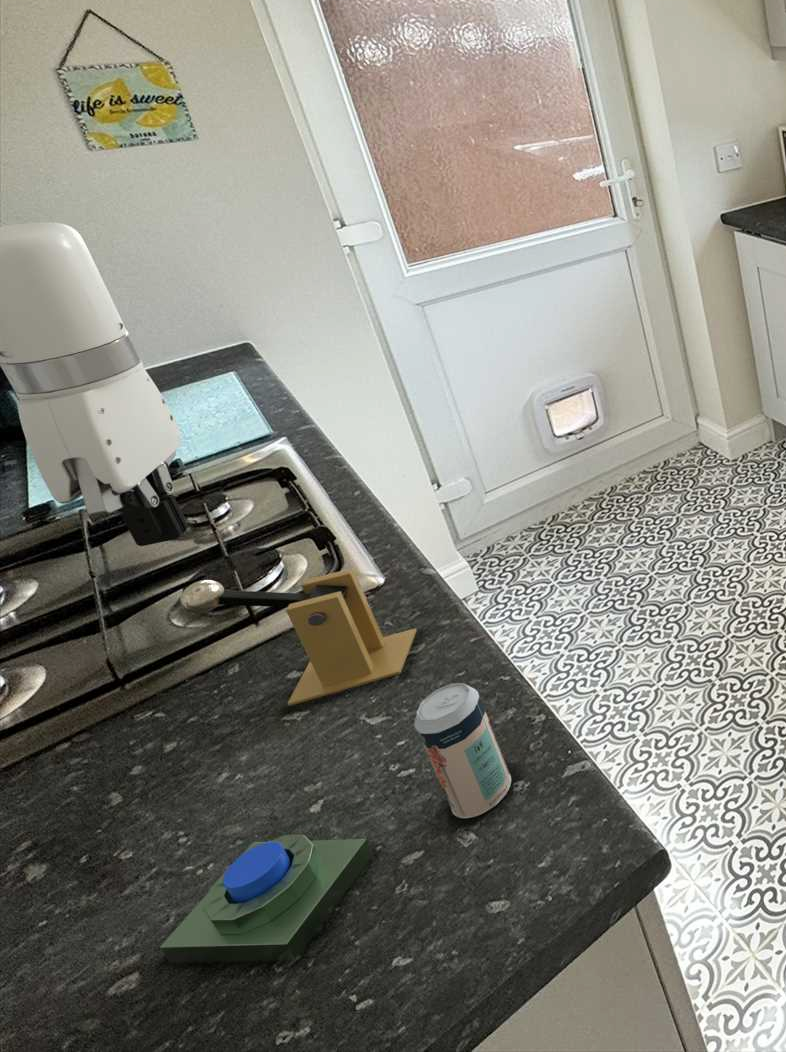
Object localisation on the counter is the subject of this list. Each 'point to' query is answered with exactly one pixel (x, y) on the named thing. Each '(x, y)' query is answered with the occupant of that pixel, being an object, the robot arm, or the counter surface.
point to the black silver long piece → (244, 596)
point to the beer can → (463, 749)
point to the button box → (271, 907)
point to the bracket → (343, 639)
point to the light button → (256, 871)
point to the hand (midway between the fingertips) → (164, 537)
